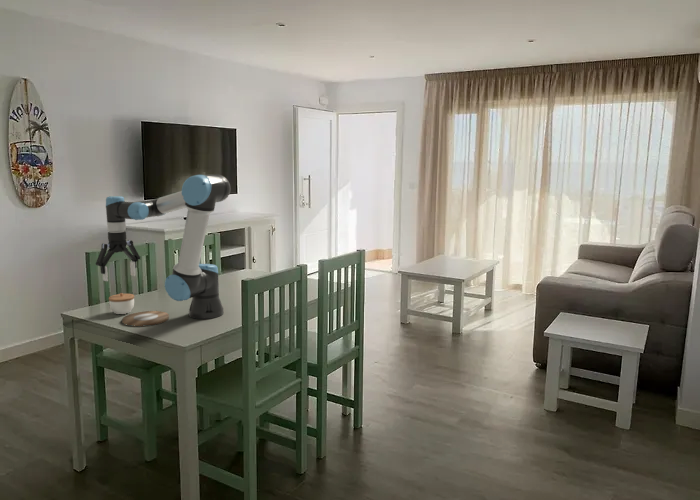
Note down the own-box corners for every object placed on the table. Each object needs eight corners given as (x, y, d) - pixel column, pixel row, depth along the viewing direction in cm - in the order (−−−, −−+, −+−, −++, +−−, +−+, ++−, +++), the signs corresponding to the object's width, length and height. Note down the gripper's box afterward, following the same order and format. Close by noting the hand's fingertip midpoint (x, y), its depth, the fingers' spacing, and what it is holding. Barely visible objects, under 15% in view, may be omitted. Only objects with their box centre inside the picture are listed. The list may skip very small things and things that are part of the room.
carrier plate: (177, 315, 242) (177, 313, 242) (149, 328, 224) (149, 325, 224) (142, 311, 248) (142, 309, 248) (112, 323, 230) (112, 320, 230)
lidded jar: (108, 317, 240) (106, 296, 238) (111, 310, 250) (110, 290, 248) (133, 315, 242) (132, 295, 241) (136, 309, 253) (135, 289, 251)
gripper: (136, 227, 252) (139, 272, 256) (84, 233, 232) (88, 281, 235) (146, 229, 248) (149, 274, 251) (94, 235, 227) (98, 284, 231)
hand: (119, 278), depth 243 cm, fingers open, 13 cm apart
